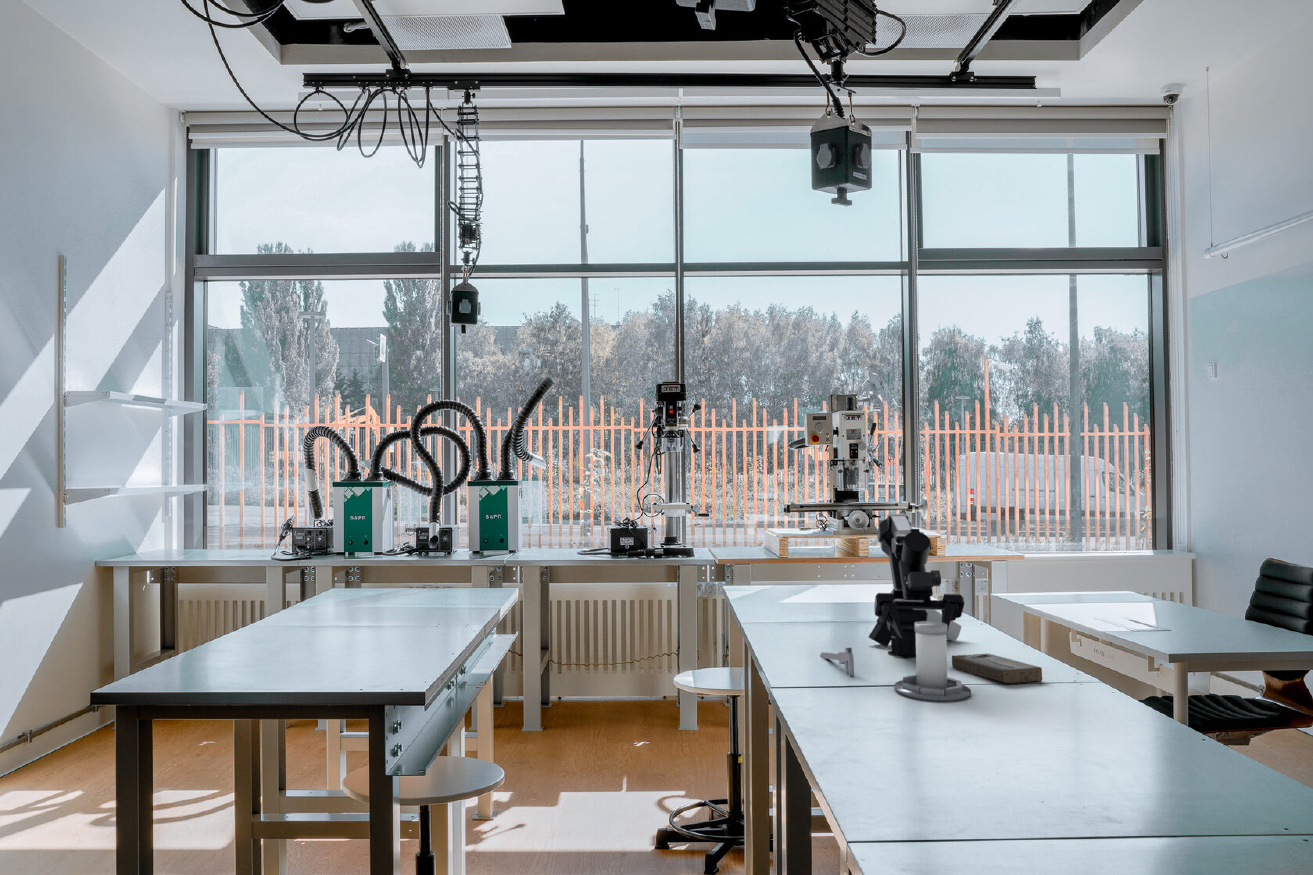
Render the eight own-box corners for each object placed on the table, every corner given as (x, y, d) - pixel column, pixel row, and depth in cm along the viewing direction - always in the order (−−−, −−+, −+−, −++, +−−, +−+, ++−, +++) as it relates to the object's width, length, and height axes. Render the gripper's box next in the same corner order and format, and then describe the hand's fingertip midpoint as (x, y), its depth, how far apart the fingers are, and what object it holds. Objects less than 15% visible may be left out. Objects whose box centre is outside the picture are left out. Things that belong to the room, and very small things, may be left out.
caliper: (854, 677, 183) (854, 649, 183) (849, 677, 183) (849, 649, 183) (823, 656, 203) (823, 631, 203) (819, 657, 203) (819, 631, 203)
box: (1002, 685, 174) (1002, 670, 174) (950, 668, 190) (950, 654, 191) (1044, 682, 177) (1044, 667, 177) (989, 666, 194) (989, 652, 194)
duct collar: (931, 679, 180) (931, 669, 180) (987, 695, 167) (987, 685, 167) (878, 688, 173) (878, 678, 173) (932, 706, 160) (932, 695, 160)
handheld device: (867, 636, 215) (891, 585, 218) (933, 673, 220) (956, 622, 222) (874, 639, 212) (899, 587, 214) (941, 677, 216) (965, 625, 218)
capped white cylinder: (922, 682, 175) (921, 620, 175) (953, 687, 171) (952, 623, 171) (910, 688, 170) (909, 624, 170) (941, 693, 166) (940, 628, 166)
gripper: (875, 556, 186) (882, 615, 174) (961, 557, 183) (974, 617, 172) (871, 586, 193) (878, 645, 182) (954, 587, 191) (966, 646, 179)
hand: (923, 638), depth 179 cm, fingers open, 9 cm apart
